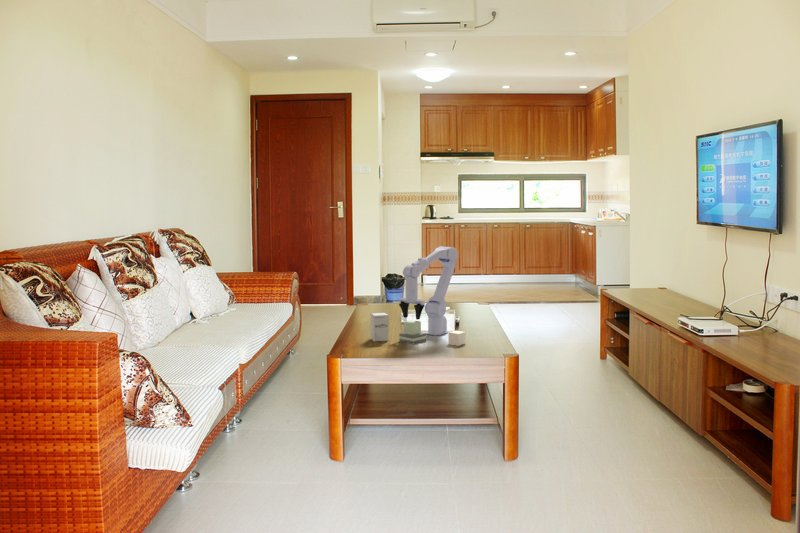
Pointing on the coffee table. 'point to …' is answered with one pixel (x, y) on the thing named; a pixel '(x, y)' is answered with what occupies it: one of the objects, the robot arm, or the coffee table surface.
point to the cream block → (456, 338)
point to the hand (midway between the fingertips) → (411, 318)
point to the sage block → (412, 327)
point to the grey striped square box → (412, 338)
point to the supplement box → (379, 327)
